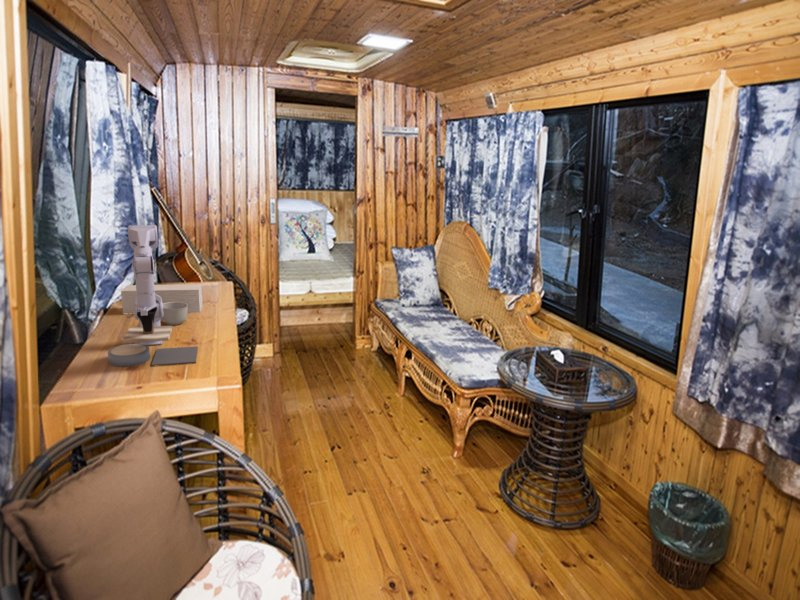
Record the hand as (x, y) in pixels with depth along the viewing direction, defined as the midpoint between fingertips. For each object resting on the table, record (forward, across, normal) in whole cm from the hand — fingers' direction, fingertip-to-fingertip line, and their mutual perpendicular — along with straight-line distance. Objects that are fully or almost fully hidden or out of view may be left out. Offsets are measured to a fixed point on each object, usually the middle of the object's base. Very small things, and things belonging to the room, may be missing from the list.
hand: (148, 329), depth 197 cm
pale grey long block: (+11, -63, -3) cm, 64 cm away
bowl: (+10, 0, -7) cm, 13 cm away
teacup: (+11, -41, +2) cm, 43 cm away
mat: (+10, 0, +8) cm, 13 cm away
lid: (+2, 0, 0) cm, 2 cm away
